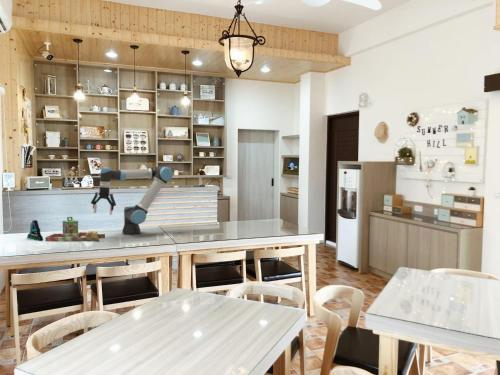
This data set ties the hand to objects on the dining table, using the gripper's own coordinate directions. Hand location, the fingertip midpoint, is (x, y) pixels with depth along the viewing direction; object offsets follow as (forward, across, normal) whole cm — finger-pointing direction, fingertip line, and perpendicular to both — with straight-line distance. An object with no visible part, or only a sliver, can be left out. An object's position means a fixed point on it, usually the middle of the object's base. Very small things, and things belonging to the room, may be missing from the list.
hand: (102, 213), depth 330 cm
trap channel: (+22, -19, -1) cm, 29 cm away
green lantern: (+22, -34, +12) cm, 42 cm away
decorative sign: (+24, -50, -11) cm, 56 cm away
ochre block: (+21, -6, -2) cm, 22 cm away
